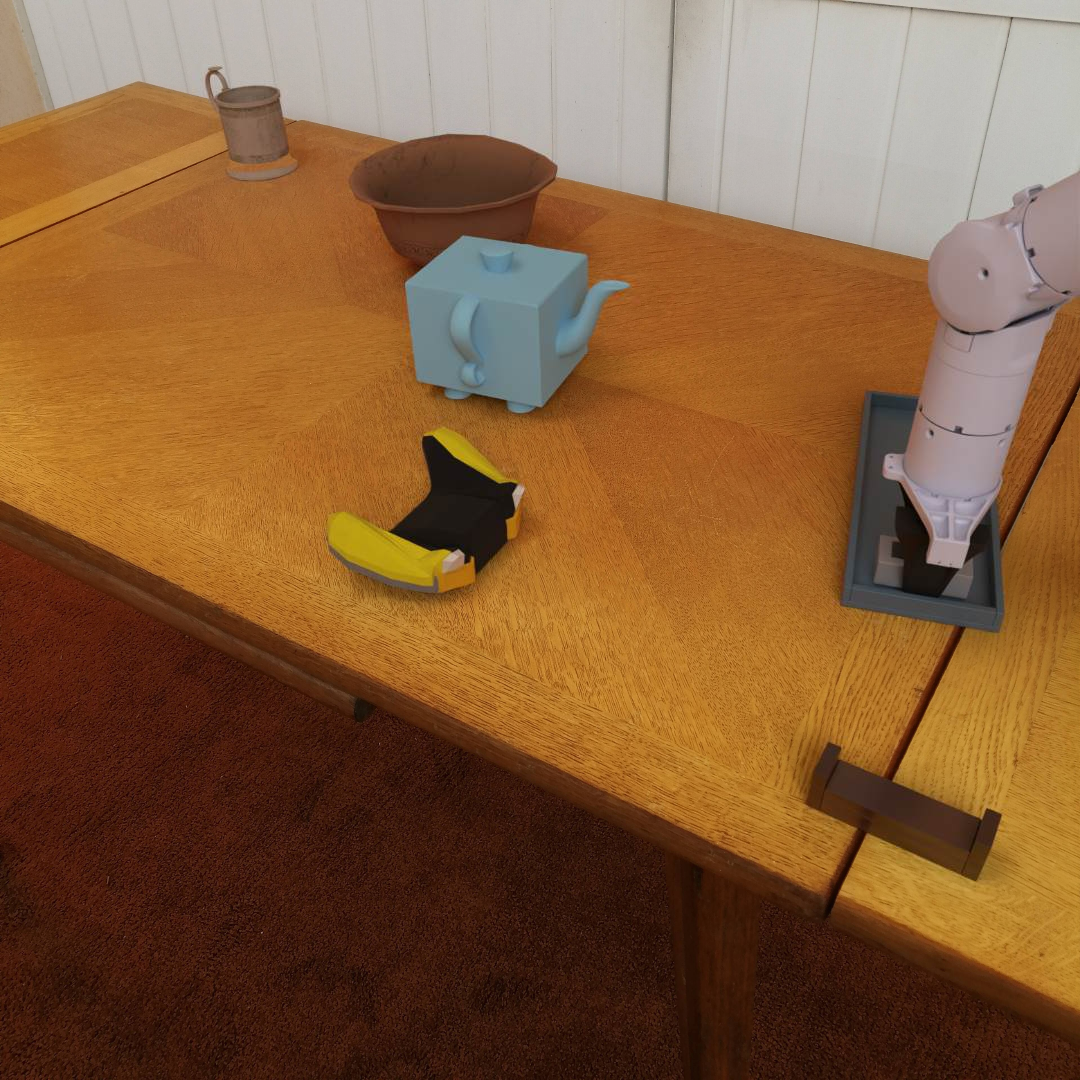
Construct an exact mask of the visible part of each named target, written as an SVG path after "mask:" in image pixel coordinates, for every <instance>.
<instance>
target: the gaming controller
mask: <svg viewBox="0 0 1080 1080" xmlns="http://www.w3.org/2000/svg"><path fill="white" fill-rule="evenodd" d="M421 450H422V454H423V457H424V462H425V466H426V470H427V474H428V478H429V483H430V490H429V492H428V494H427V495H426V497H425V498H423V499H422V501H420V503H418V504H417V506H416V507H414V508H413V509H412V510H411V511H410V512H409V513H408V514H407V515H405V516H404V518H402V519H401V521H399V522H398V523H397V524H396V525H395V526H394V527H393V528H392V529H390V530H385V529H383V528H380V527H378V526H376V524H373V523H371V522H370V521H368V520H366V519H364V518H362V517H360V516H358V515H355V514H353V513H350V512H349V511H347V510H342V511H338V512H333V513H329V515H328V518H327V522H326V523H327V525H326V541H327V546H328V551H329V552H330V553H331V554H332V555H333V556H334V557H335V558H336V559H337V560H338V561H340V563H342V564H343V566H344V567H346V568H347V569H348V570H351V571H352V572H355V573H358V574H360V575H362V576H365V577H368V578H370V579H373V580H375V581H377V582H380V583H382V584H384V585H387V586H390V587H392V588H397V589H402V590H407V591H411V592H415V593H416V592H417V593H423V594H438V595H440V594H444V593H447V592H450V591H452V590H455V589H457V588H461V587H465V586H470V585H472V584H473V583H475V582H476V576H477V575H478V574H479V573H480V572H481V571H482V569H484V567H485V566H486V565H488V563H489V562H490V561H491V560H492V559H493V558H494V557H495V555H497V553H498V552H499V551H500V550H501V549H502V548H503V547H504V545H506V544H507V543H508V541H510V540H512V539H515V538H517V537H518V535H519V533H520V527H521V522H522V514H523V502H522V497H523V494H524V492H525V490H526V486H525V485H523V484H522V483H520V481H519V480H517V479H515V478H507V477H506V476H505V475H504V474H503V473H502V472H500V470H499V469H498V468H496V467H495V466H494V465H493V464H492V463H491V462H490V461H489V460H488V459H487V458H486V457H485V456H484V455H483V454H482V453H481V452H479V451H478V449H476V447H474V446H473V445H472V444H471V443H470V441H468V440H467V439H466V438H465V437H464V436H463V435H462V434H461V433H459V432H456V431H454V430H452V429H450V428H447V427H446V426H442V427H438V428H436V429H435V428H434V429H432V430H429V431H427V432H425V433H423V435H422V438H421Z"/></svg>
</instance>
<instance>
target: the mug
mask: <svg viewBox="0 0 1080 1080" xmlns="http://www.w3.org/2000/svg"><path fill="white" fill-rule="evenodd" d="M207 70H208V71H207V73H205V77H204V84H205V90H206V94H207V97H208V99H209V101H210V104H211V105H212V107H213V109H214V110H215V111H216V113H217V114H219V116H220V121H221V125H222V130H223V135H224V138H225V143H226V147H227V152H228V156H229V157H230V159H231V160H232V161H235V162H238V163H242V164H260V163H267V162H273V161H276V160H278V159H281V158H282V157H284V156H286V155H287V154H288V153H289V150H290V147H289V141H288V136H287V131H286V125H285V120H284V114H283V110H282V109H283V108H282V104H281V99H280V98H281V91H280V89H279V88H278V87H274V86H271V85H263V84H259V85H257V84H255V85H245V86H237V87H232V88H231V87H229V85H228V81H227V79H226V78H225V76H224V75H223V74H222V72H220V70H223V66H212V67H211V66H210V67H208V68H207ZM212 75H215V76H216V77H217V78H218V79H219V81H220V83H221V86H222V88H221V91H220V92H218V93H217V94H216V95H215V96H214V93H213V89H212V86H211V76H212ZM297 163H298V165H297ZM297 163H295V164H296V165H294V164H293V165H294V166H295V167H293V166H292V167H286V168H287V169H286V168H285V167H284V169H283V168H281V167H279V168H280V169H279V168H278V169H271V170H267V171H262V172H261V171H258V172H244V171H238V170H237V172H236V171H235V172H232V171H233V169H231V171H230V169H229V172H230V173H231V174H230V173H229V172H226V171H225V174H226V175H227V176H228V177H229V178H231V179H234V180H237V181H243V182H244V181H246V182H247V181H248V182H249V181H250V182H251V181H252V182H253V181H254V182H256V181H267V180H273V179H277V178H281V177H284V176H286V175H290V174H291V173H293V172H295V171H296V170H297V169H298V168H299V166H300V165H299V160H297ZM296 166H297V167H296ZM234 170H235V169H234ZM227 173H229V174H227Z"/></svg>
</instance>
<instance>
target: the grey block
mask: <svg viewBox="0 0 1080 1080" xmlns="http://www.w3.org/2000/svg"><path fill="white" fill-rule="evenodd" d="M903 566H904V556H903V550H902V547H901V544H900V542H899V540H898V538H897V537H891V536H885V535H881V536H880V538H879V543H878V547H877V551H876V555H875V566H874V579H873V583H874V584H880V585H886V586H892V587H898V588H903ZM972 580H973V558H971V559H970V560H969V561H968V562H966V563H965V564H964V565H963V567H962V568H961V569H959V570H958V572H957V573H956V574H955V575H954V577H953V578H952V580H951V581H950V583H949V584H948V586H947V587H946V589H945V590H944V592H943V593H942V594H941V595H945V596H951V597H957V598H963V599H966V598H967V595H968V592H969V589H970V586H971V583H972Z"/></svg>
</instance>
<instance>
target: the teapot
mask: <svg viewBox="0 0 1080 1080" xmlns="http://www.w3.org/2000/svg"><path fill="white" fill-rule="evenodd" d="M588 265H589V256H588V255H587V254H586V253H580V252H575V251H567V250H563V249H562V250H561V249H555V248H548V247H542V246H536V245H533V244H529V243H523V244H517V243H511V242H504V241H497V240H491V239H484V238H477V237H470V236H462V237H461V238H460V239H458V240H457V241H456V242H455V243H453V244H452V245H451V246H450V247H448V248H447V249H446V250H445V251H443V252H442V253H441V254H440V255H438V256H437V257H436V258H435V259H433V260H432V261H431V262H430V263H429V264H427V265H426V266H425V267H424V268H423V269H421V268H420V270H419V271H418V272H416V273H415V274H414V275H412V276H411V277H410V278H409V279H408V280H406V281H405V283H404V289H405V297H406V306H407V313H408V320H409V328H410V329H409V330H410V335H411V336H410V338H411V345H412V352H413V361H414V369H415V376H416V377H415V378H416V382H420V383H424V384H429V385H433V386H434V385H435V386H438V387H442V388H445V389H444V392H443V394H444V396H445V397H447V398H448V399H451V400H462V399H466V398H468V397H470V396H471V395H472V394H476V395H481V396H486V397H491V398H495V399H500V400H504V401H506V408H507V409H508V410H509V411H510V412H512V413H517V414H524V413H525V414H526V413H530V412H531V411H533V410H535V408H536V407H537V408H543V407H544V406H545V405H546V403H547V402H548V400H550V398H551V397H552V396H553V395H554V394H555V392H556V391H557V390H558V389H559V387H560V386H561V385H562V384H563V382H565V380H566V379H567V378H568V376H570V374H571V373H572V371H573V370H574V369H575V368H576V367H577V365H578V364H579V363H580V362H581V361H582V359H583V358H584V357H585V356H586V354H588V352H589V341H590V339H591V338H592V336H593V334H594V332H595V330H596V327H597V324H598V320H599V317H600V314H601V311H602V308H603V306H604V304H605V302H606V301H607V299H608V298H609V297H611V296H612V295H613V294H615V293H618V292H620V291H624V290H626V289H628V288H630V287H631V284H630V283H628V282H626V281H621V280H611V279H609V280H601V281H598V282H596V283H595V284H594V285H592V286H591V287H590V289H589V266H588Z"/></svg>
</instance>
